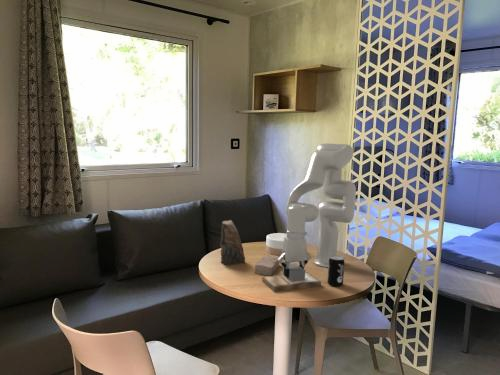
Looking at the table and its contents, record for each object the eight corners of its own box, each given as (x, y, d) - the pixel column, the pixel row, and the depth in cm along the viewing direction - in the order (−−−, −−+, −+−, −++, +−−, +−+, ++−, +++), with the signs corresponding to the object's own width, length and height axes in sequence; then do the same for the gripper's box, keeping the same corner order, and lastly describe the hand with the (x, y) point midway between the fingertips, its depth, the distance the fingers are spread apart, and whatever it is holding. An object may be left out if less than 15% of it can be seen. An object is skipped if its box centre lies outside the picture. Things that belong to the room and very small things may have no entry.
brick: (271, 276, 177) (271, 266, 176) (253, 273, 179) (254, 263, 179) (279, 265, 193) (280, 256, 192) (263, 263, 195) (263, 254, 195)
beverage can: (333, 288, 165) (335, 260, 163) (324, 282, 170) (325, 255, 169) (346, 286, 167) (347, 259, 166) (336, 280, 173) (338, 254, 172)
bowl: (281, 245, 228) (282, 231, 227) (303, 253, 215) (304, 238, 213) (259, 250, 217) (260, 235, 216) (281, 258, 204) (281, 242, 203)
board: (307, 276, 177) (307, 271, 177) (321, 286, 166) (321, 281, 166) (262, 281, 169) (262, 276, 169) (273, 291, 158) (273, 286, 158)
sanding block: (294, 274, 173) (295, 263, 173) (304, 281, 165) (305, 270, 164) (282, 275, 171) (282, 264, 170) (292, 283, 163) (292, 271, 162)
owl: (224, 266, 187) (225, 225, 185) (211, 259, 198) (212, 220, 195) (246, 262, 194) (247, 223, 192) (233, 255, 205) (234, 218, 202)
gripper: (309, 231, 172) (306, 271, 174) (273, 234, 166) (271, 275, 168) (317, 236, 165) (315, 277, 167) (281, 238, 159) (279, 281, 161)
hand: (293, 275), depth 168 cm, fingers closed on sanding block, 6 cm apart
